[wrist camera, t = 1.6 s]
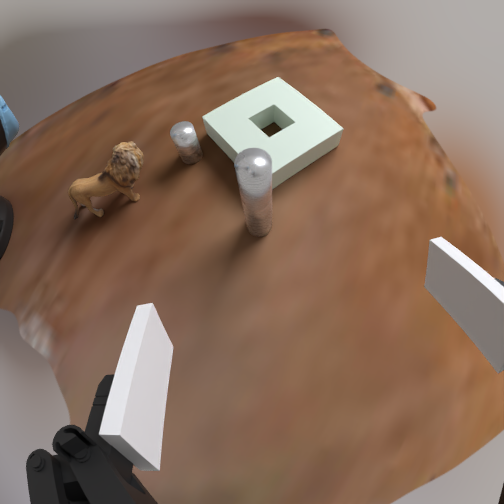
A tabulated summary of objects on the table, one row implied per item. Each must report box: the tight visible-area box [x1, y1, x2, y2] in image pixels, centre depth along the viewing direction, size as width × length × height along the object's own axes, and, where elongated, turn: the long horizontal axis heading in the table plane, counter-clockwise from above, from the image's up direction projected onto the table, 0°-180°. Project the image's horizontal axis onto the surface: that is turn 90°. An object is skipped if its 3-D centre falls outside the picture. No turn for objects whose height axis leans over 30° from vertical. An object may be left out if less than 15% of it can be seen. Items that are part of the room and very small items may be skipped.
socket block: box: [202, 77, 343, 189], centre depth 40 cm, size 14×14×4 cm
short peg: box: [170, 121, 202, 164], centre depth 39 cm, size 3×3×6 cm
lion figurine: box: [68, 141, 143, 219], centre depth 37 cm, size 15×5×9 cm, turn 116°
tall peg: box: [234, 148, 272, 237], centre depth 32 cm, size 3×3×14 cm
